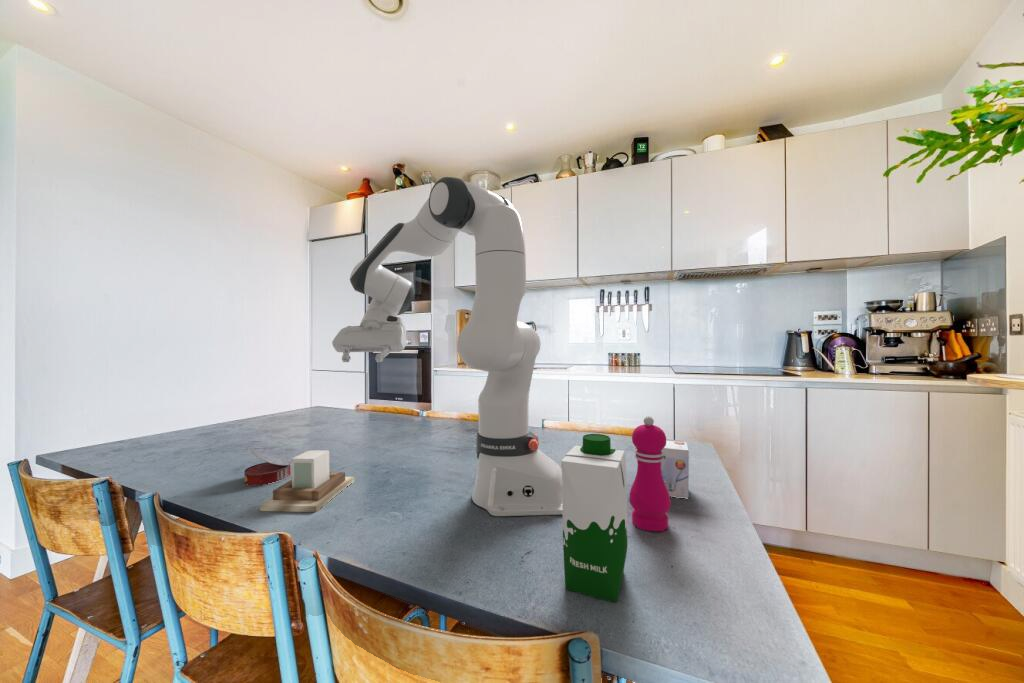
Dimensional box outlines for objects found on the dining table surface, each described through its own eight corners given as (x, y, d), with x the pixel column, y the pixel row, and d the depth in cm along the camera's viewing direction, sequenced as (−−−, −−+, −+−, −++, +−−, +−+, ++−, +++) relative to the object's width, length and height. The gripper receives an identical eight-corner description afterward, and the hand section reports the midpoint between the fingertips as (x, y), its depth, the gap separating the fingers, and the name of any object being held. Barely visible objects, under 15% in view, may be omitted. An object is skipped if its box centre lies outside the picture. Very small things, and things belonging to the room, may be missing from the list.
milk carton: (630, 569, 55) (629, 436, 55) (622, 610, 47) (621, 453, 47) (573, 556, 59) (571, 430, 59) (556, 592, 50) (554, 446, 50)
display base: (354, 481, 91) (354, 468, 91) (316, 511, 75) (316, 496, 75) (307, 481, 92) (307, 468, 92) (259, 511, 76) (259, 495, 76)
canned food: (259, 492, 97) (267, 453, 102) (296, 488, 97) (303, 449, 101) (226, 487, 87) (237, 444, 92) (267, 482, 87) (276, 440, 91)
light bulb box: (637, 493, 82) (636, 445, 82) (638, 482, 89) (638, 437, 89) (690, 500, 78) (689, 449, 78) (688, 488, 85) (687, 441, 85)
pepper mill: (651, 537, 64) (650, 422, 64) (621, 520, 70) (620, 415, 70) (679, 527, 67) (678, 417, 67) (648, 511, 74) (647, 411, 73)
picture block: (329, 484, 86) (329, 450, 86) (314, 495, 80) (313, 459, 80) (309, 484, 87) (308, 450, 87) (291, 495, 80) (291, 458, 80)
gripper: (338, 318, 109) (320, 353, 100) (406, 317, 108) (394, 352, 98) (346, 334, 114) (329, 368, 104) (411, 333, 113) (400, 367, 103)
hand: (361, 360), depth 101 cm, fingers open, 8 cm apart
